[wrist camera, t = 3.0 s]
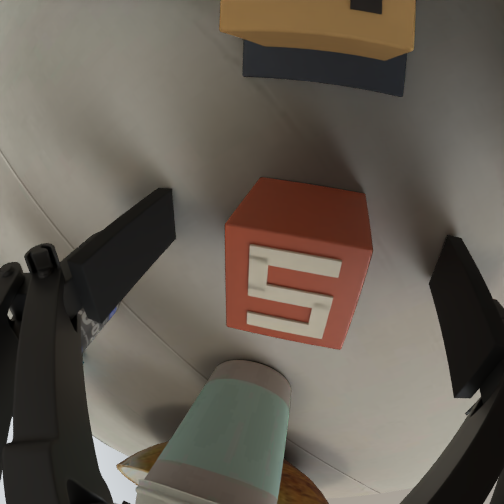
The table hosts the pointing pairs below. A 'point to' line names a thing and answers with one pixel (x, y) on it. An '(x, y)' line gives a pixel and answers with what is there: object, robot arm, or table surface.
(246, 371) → the coffee cup
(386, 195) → the table surface
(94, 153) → the table surface
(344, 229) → the block
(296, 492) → the bowl
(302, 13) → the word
